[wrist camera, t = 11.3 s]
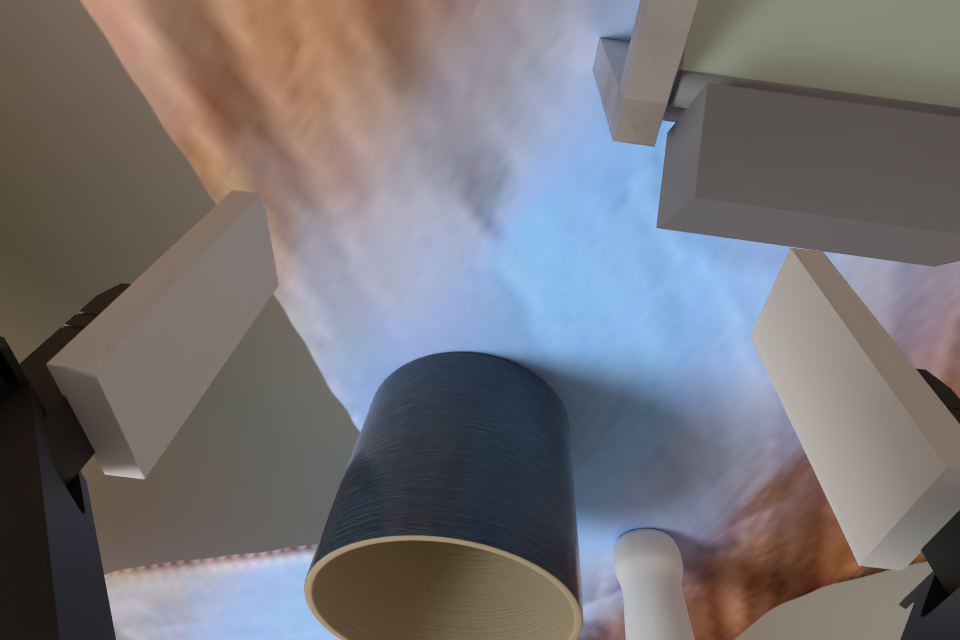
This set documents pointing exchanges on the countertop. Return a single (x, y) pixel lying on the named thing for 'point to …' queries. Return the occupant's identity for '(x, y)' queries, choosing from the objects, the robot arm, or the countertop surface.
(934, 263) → the trapdoor
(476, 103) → the countertop surface
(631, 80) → the frame
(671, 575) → the bottle
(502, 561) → the planter
